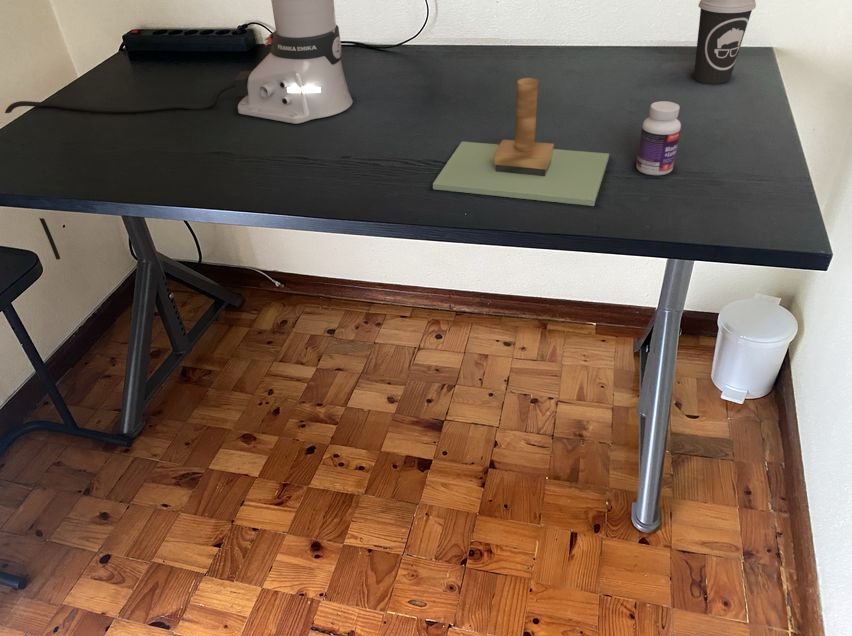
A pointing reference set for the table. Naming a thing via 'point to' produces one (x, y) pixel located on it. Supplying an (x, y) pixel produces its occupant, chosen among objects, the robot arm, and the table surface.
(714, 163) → the table surface
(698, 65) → the coffee cup
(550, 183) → the mat
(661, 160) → the pill bottle
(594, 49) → the table surface
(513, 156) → the scrub brush
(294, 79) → the robot arm
